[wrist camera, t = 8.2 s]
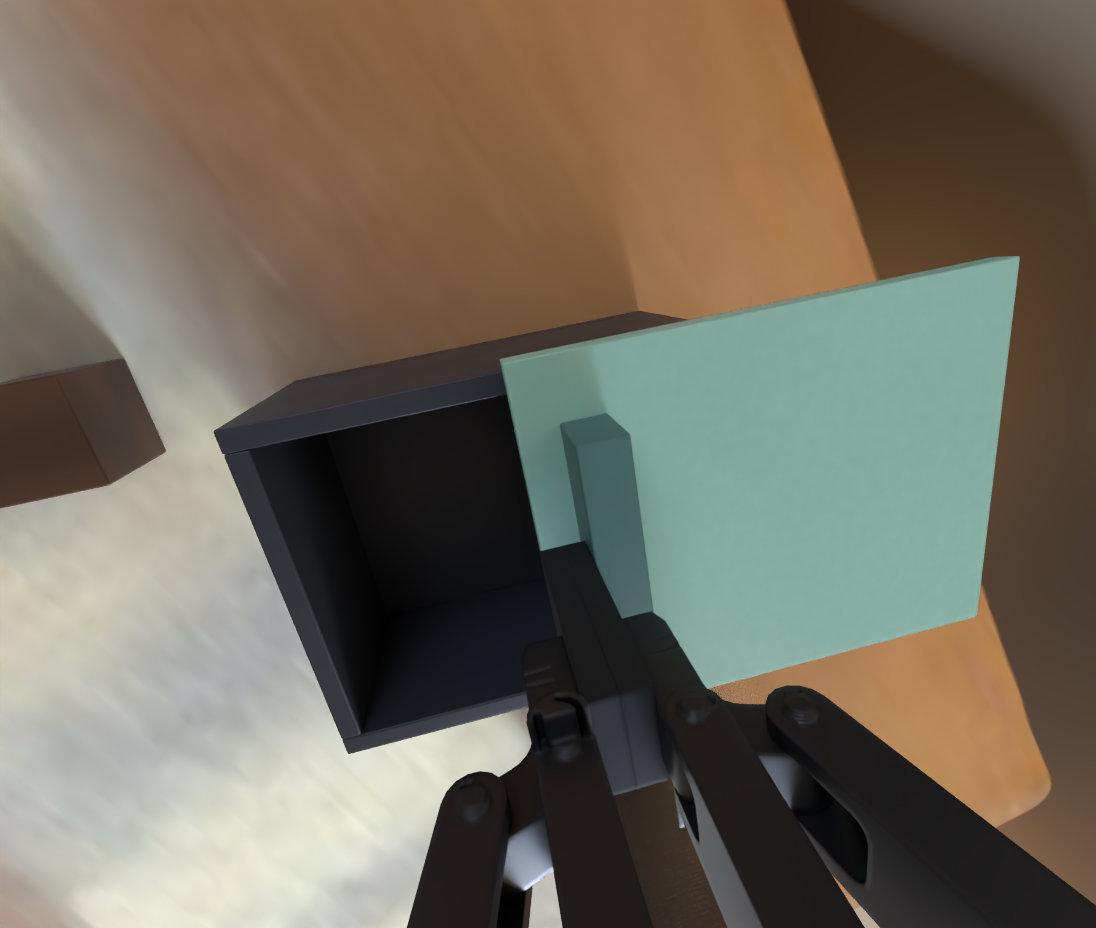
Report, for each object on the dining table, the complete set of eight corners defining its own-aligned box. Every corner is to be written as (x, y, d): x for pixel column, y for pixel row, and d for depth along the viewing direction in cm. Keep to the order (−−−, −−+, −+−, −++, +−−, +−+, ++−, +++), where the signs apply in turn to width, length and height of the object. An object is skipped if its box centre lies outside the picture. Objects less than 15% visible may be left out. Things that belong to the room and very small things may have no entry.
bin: (294, 380, 25) (212, 431, 17) (639, 310, 26) (721, 324, 18) (379, 622, 29) (347, 755, 21) (667, 552, 31) (743, 651, 23)
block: (18, 378, 23) (-78, 400, 19) (125, 357, 23) (53, 374, 19) (68, 472, 25) (-11, 511, 20) (167, 451, 25) (109, 485, 21)
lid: (499, 358, 17) (508, 377, 14) (992, 256, 19) (1106, 252, 15) (572, 705, 22) (591, 779, 19) (957, 603, 24) (1037, 655, 20)
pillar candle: (559, 771, 35) (625, 1101, 21) (698, 716, 35) (854, 1004, 21) (602, 862, 38) (684, 1198, 24) (728, 811, 39) (880, 1114, 25)
